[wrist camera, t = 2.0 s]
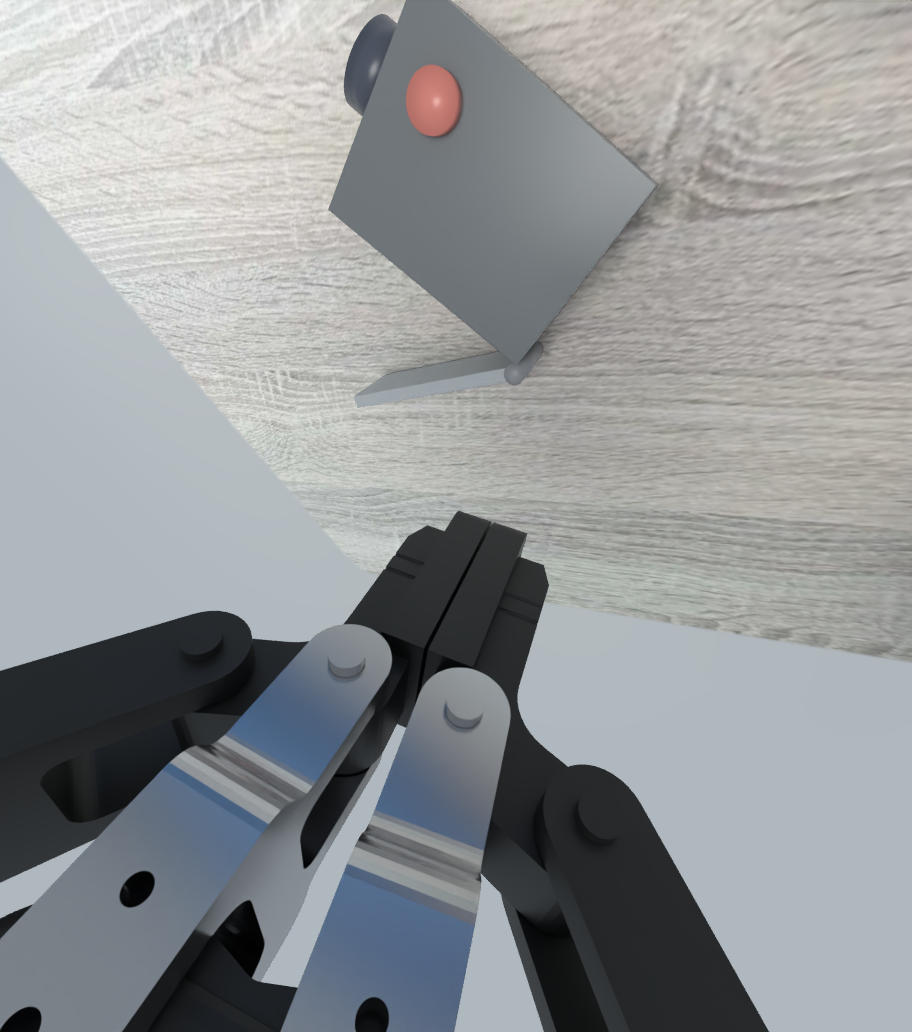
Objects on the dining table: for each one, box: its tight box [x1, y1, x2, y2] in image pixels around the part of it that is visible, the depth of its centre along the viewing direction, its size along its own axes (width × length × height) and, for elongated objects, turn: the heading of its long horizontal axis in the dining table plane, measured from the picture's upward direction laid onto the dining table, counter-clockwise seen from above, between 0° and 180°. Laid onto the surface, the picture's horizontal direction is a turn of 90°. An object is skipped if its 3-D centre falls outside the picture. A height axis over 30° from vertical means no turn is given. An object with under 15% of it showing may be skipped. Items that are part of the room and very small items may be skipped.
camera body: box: [328, 0, 659, 365], centre depth 26 cm, size 15×10×7 cm, turn 56°
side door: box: [354, 341, 543, 408], centre depth 33 cm, size 12×1×5 cm, turn 106°
